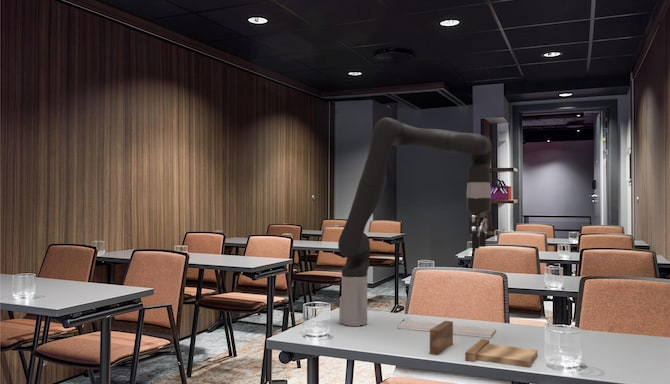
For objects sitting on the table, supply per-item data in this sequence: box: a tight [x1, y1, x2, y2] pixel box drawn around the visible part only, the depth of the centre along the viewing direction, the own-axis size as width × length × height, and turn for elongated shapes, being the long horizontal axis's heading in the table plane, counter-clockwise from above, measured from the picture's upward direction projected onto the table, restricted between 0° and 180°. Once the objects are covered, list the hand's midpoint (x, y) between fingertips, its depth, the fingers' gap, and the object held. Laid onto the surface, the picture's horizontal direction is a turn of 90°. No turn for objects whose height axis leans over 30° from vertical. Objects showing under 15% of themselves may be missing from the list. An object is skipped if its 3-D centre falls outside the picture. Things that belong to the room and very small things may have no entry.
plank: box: [429, 320, 454, 356], centre depth 160 cm, size 2×14×7 cm, turn 150°
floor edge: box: [464, 338, 538, 368], centre depth 152 cm, size 16×17×2 cm
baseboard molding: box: [398, 318, 497, 340], centre depth 183 cm, size 31×3×12 cm
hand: (478, 247), depth 173 cm, fingers open, 8 cm apart
